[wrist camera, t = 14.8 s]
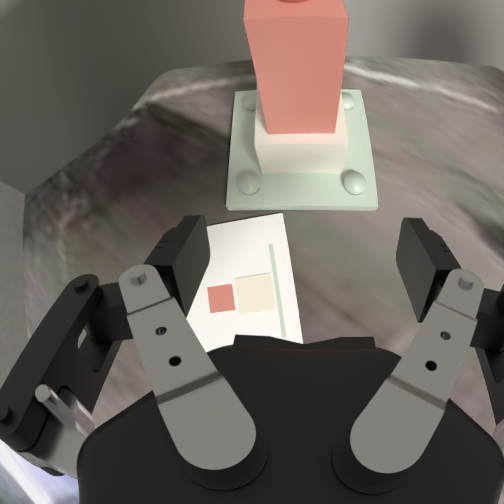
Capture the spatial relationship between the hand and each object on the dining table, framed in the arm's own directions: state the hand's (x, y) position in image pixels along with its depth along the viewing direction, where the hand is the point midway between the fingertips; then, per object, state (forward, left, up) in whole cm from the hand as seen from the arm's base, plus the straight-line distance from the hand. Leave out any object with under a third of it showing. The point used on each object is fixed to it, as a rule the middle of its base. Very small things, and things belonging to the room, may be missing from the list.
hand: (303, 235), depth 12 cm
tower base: (0, -11, -12) cm, 16 cm away
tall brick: (0, -11, -6) cm, 13 cm away
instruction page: (+5, +2, -12) cm, 13 cm away
